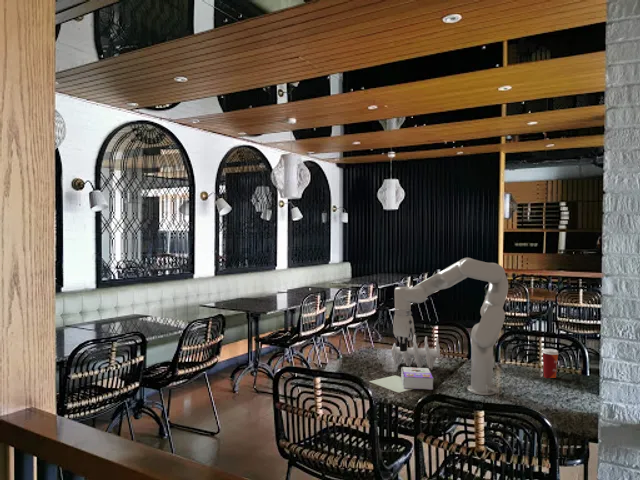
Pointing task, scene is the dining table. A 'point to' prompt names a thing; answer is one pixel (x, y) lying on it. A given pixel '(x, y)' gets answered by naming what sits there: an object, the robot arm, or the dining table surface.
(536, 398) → the dining table surface
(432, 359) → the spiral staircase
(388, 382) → the mat
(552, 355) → the paper cup
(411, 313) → the robot arm
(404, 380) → the candy box
